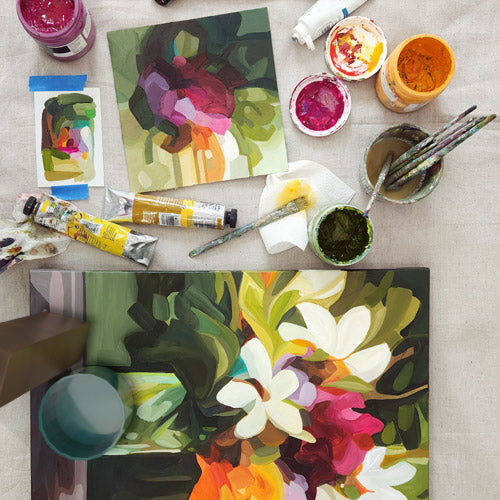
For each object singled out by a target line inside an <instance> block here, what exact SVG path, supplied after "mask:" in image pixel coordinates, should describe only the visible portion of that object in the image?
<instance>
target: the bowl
mask: <svg viewBox="0 0 500 500" xmlns="http://www.w3.org/2000/svg"><path fill="white" fill-rule="evenodd" d="M134 401H135V400H134V396H133V393H132V389H131V387H130V386H129V384H128V383H127V381H126V379H125V378H123V376H121V375H120V374H119V373H118V372H117V371H115V370H114V369H111V368H109V367H106V366H101V365H87V366H83V367H80V368H76V369H74V370H72V371H71V372H70V373H67V374H66V375H64V376H63V377H61V378H60V379H58V380H57V381H56V382H54V383H53V384H51V386H50V387H48V389H47V390H46V392H45V394H44V395H43V397H42V398H41V402H40V406H39V410H38V413H37V415H38V426H39V431H40V433H41V435H42V437H43V439H44V442H45V443H46V445H48V446H49V447H50V449H52V450H53V452H54V453H56V454H57V455H60V456H61V457H63V458H65V459H68V460H70V461H83V462H88V461H91V460H93V459H97V458H101V457H102V456H104V455H105V454H106V453H108V452H109V451H111V450H112V449H114V447H115V446H116V444H117V443H118V442H119V440H120V439H121V438H122V437H123V435H124V434H125V432H126V431H127V429H128V427H129V426H130V424H131V422H132V419H133V416H134V411H135V410H134V409H135V402H134Z"/></svg>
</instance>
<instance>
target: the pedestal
mask: <svg viewBox="0 0 500 500" xmlns="http://www.w3.org/2000/svg"><path fill="white" fill-rule="evenodd" d="M90 328H91V321H87V320H83V319H79V318H75V317H72V316H68V315H67V316H66V315H63V314H59V313H56V312H51V311H47V310H46V311H42V312H37V313H34V314H29V315H25V316H21V317H17V318H12V319H9V320H5V321H1V322H0V409H1V408H3V407H5V406H7V405H8V404H10V403H12V402H13V401H15V400H16V399H18V398H20V397H21V396H24V395H25V394H27V393H29V392H30V391H32V390H34V389H36V388H38V387H39V386H41V385H43V384H44V383H46V382H47V381H49V380H51V379H53V378H54V377H56V376H58V375H59V374H62V373H63V372H65V371H66V370H68V369H70V368H72V367H73V366H75V365H76V364H79V363H81V362H82V359H83V355H84V351H85V347H86V343H87V339H88V335H89V330H90Z"/></svg>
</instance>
